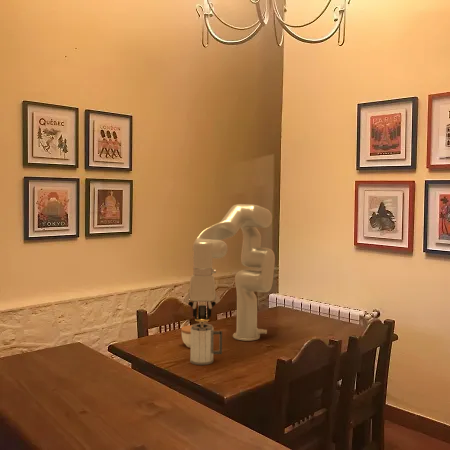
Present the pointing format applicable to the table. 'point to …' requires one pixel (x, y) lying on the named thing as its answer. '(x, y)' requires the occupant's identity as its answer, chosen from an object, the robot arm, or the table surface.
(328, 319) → the table surface
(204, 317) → the plunger
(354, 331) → the table surface
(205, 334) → the cafetiere
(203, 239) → the robot arm
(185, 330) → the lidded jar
